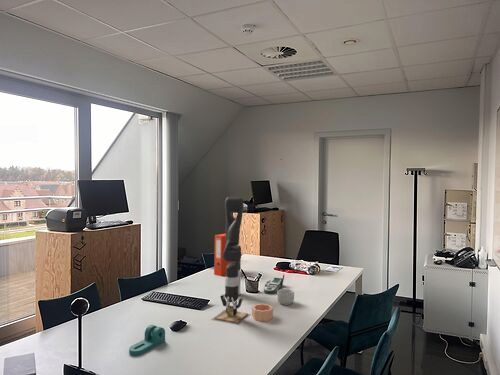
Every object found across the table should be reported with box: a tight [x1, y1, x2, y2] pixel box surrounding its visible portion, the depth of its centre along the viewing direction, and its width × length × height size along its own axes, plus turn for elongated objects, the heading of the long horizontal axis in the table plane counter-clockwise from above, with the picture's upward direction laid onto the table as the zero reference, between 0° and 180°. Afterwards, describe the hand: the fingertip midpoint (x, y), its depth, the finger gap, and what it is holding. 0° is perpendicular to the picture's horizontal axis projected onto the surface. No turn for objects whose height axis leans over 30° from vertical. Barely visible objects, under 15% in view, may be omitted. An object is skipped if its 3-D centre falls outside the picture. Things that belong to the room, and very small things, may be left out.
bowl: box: [251, 303, 274, 322], centre depth 208 cm, size 11×11×6 cm
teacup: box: [276, 287, 295, 306], centre depth 234 cm, size 14×11×8 cm
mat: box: [210, 309, 252, 326], centre depth 208 cm, size 17×17×1 cm
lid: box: [214, 305, 249, 323], centre depth 208 cm, size 14×14×6 cm
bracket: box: [128, 324, 166, 357], centre depth 172 cm, size 18×7×8 cm, turn 150°
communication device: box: [263, 274, 285, 295], centre depth 261 cm, size 12×24×9 cm, turn 159°
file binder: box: [213, 233, 233, 277], centre depth 302 cm, size 8×17×32 cm, turn 142°
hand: (231, 314), depth 208 cm, fingers closed on lid, 3 cm apart
